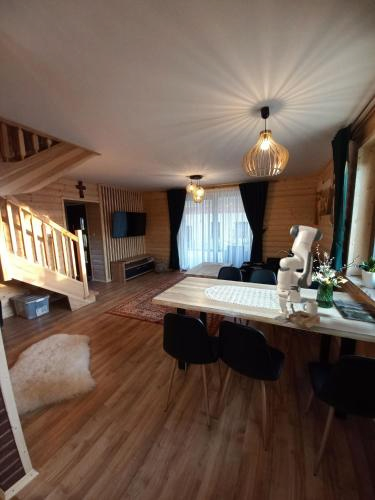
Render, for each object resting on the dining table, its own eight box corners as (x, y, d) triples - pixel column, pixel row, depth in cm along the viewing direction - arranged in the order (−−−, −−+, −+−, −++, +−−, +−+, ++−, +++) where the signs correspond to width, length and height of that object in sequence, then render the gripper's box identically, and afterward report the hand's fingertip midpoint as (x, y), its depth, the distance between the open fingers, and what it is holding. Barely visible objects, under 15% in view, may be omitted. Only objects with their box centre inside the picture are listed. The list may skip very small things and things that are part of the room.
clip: (297, 315, 138) (297, 311, 137) (292, 315, 139) (293, 310, 138) (293, 307, 152) (293, 303, 152) (289, 306, 153) (289, 303, 152)
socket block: (288, 320, 143) (288, 313, 142) (299, 315, 150) (299, 308, 149) (308, 328, 131) (309, 321, 130) (319, 322, 138) (320, 315, 137)
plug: (276, 317, 146) (277, 305, 145) (283, 315, 148) (283, 303, 147) (284, 321, 140) (284, 308, 139) (290, 319, 142) (291, 307, 141)
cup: (317, 316, 147) (318, 304, 147) (301, 313, 153) (302, 302, 152) (317, 312, 154) (317, 301, 153) (302, 310, 159) (302, 299, 158)
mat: (274, 318, 146) (274, 317, 145) (281, 315, 150) (281, 315, 150) (284, 322, 139) (284, 321, 139) (291, 319, 143) (291, 319, 143)
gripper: (280, 286, 152) (279, 303, 154) (277, 294, 135) (277, 313, 136) (289, 287, 149) (288, 305, 151) (288, 295, 132) (287, 315, 133)
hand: (283, 309), depth 143 cm, fingers open, 8 cm apart
